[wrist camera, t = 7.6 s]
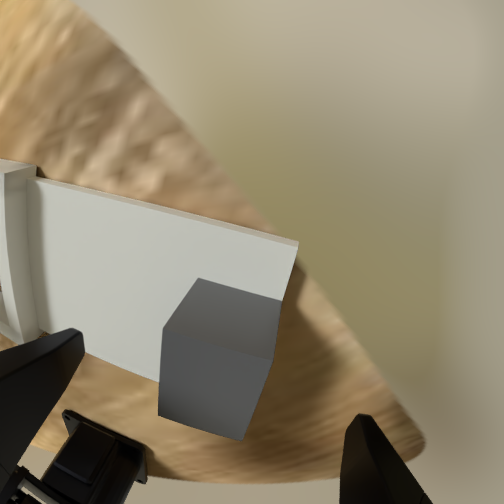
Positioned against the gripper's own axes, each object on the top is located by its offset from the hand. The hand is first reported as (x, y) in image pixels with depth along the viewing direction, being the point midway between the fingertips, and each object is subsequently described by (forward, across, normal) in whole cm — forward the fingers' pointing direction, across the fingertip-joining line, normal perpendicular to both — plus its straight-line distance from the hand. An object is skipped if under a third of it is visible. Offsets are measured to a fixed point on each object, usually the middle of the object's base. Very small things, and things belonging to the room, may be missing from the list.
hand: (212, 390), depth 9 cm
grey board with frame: (+4, +9, 0) cm, 9 cm away
